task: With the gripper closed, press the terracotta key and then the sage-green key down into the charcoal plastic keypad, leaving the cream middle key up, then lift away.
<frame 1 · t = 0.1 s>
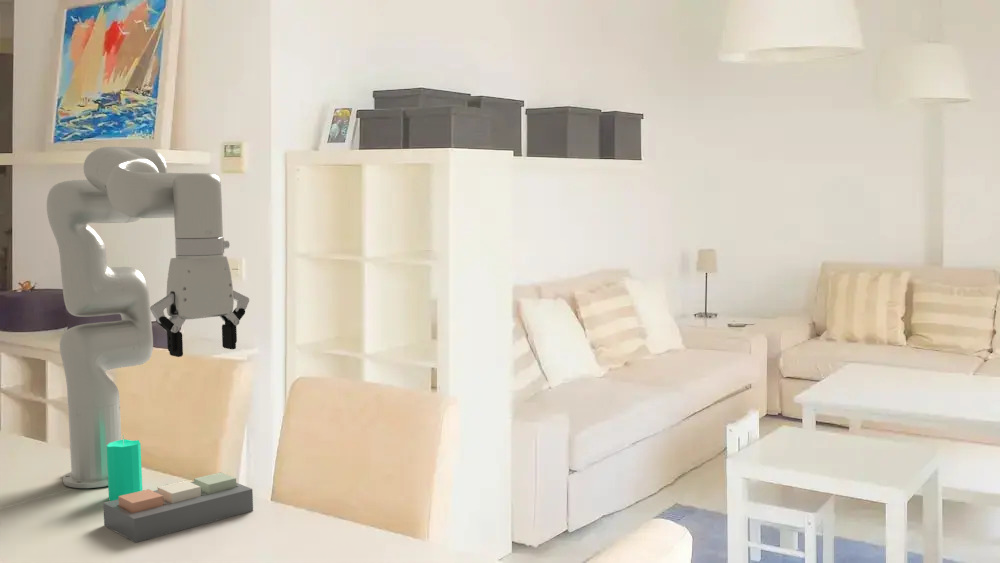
hand: (203, 352, 159), 31 cm above the table, tool pointing down, fingers open, 9 cm apart
keypad: (180, 517, 171), on the table
key terracotta: (141, 505, 165), point 4 cm above the table, slide at 0.0 cm
key cream: (179, 495, 170), point 4 cm above the table, slide at 0.0 cm
key sage: (215, 486, 175), point 4 cm above the table, slide at 0.0 cm
candle: (125, 498, 182), on the table
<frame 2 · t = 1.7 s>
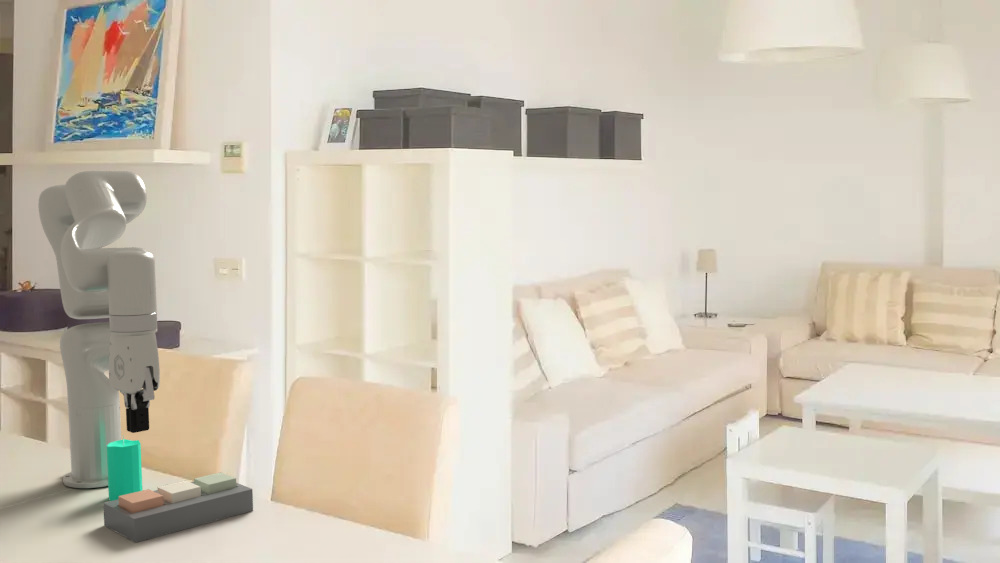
hand: (138, 430, 164), 17 cm above the table, tool pointing down, fingers closed
nothing on the table moved.
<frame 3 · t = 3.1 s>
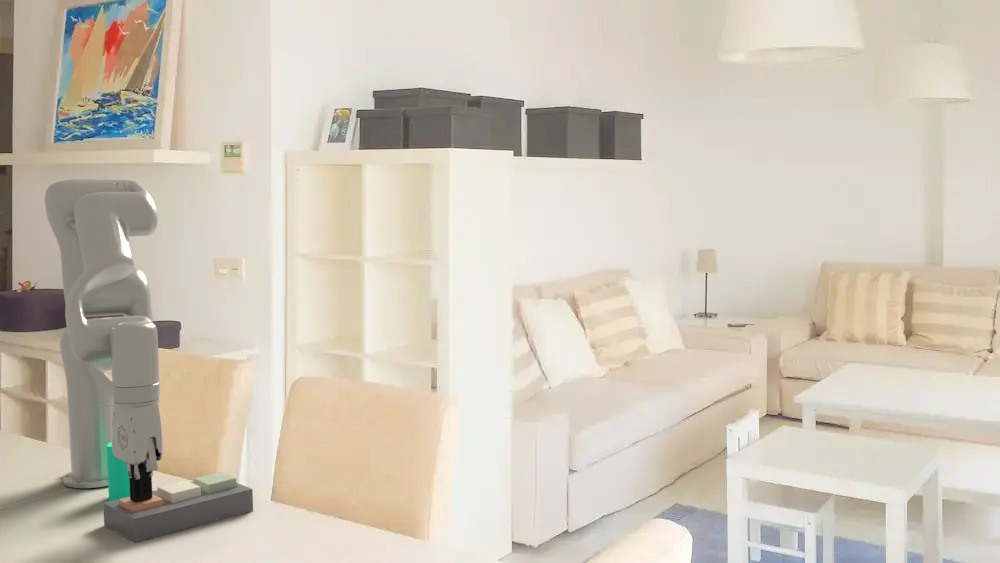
hand: (141, 499, 165), 5 cm above the table, tool pointing down, fingers closed
key terracotta: (141, 508, 165), point 3 cm above the table, slide at 0.6 cm, touching gripper
everything else where it was.
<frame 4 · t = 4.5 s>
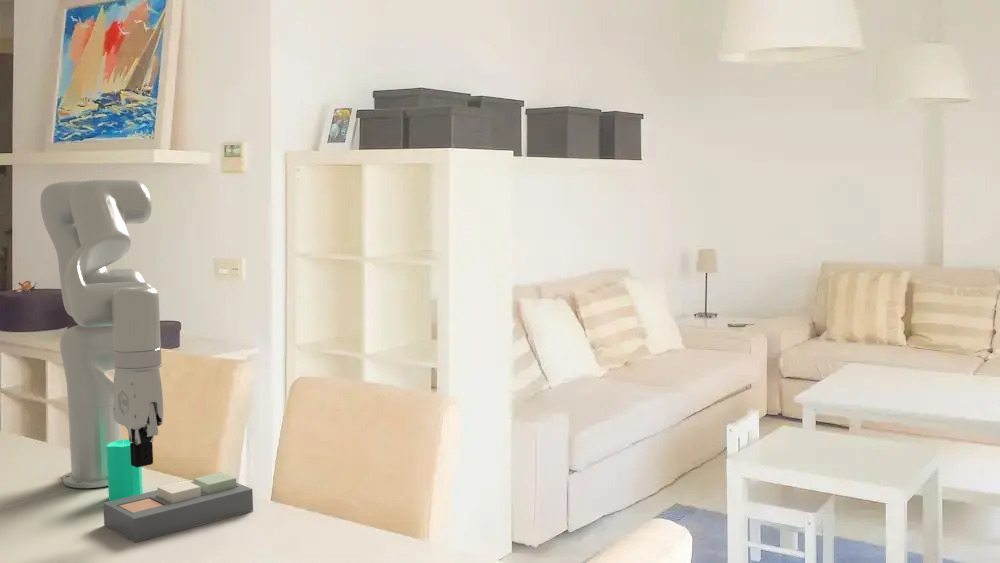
hand: (142, 464, 165), 11 cm above the table, tool pointing down, fingers closed
key terracotta: (141, 514, 165), point 2 cm above the table, slide at 1.7 cm
everything else where it was.
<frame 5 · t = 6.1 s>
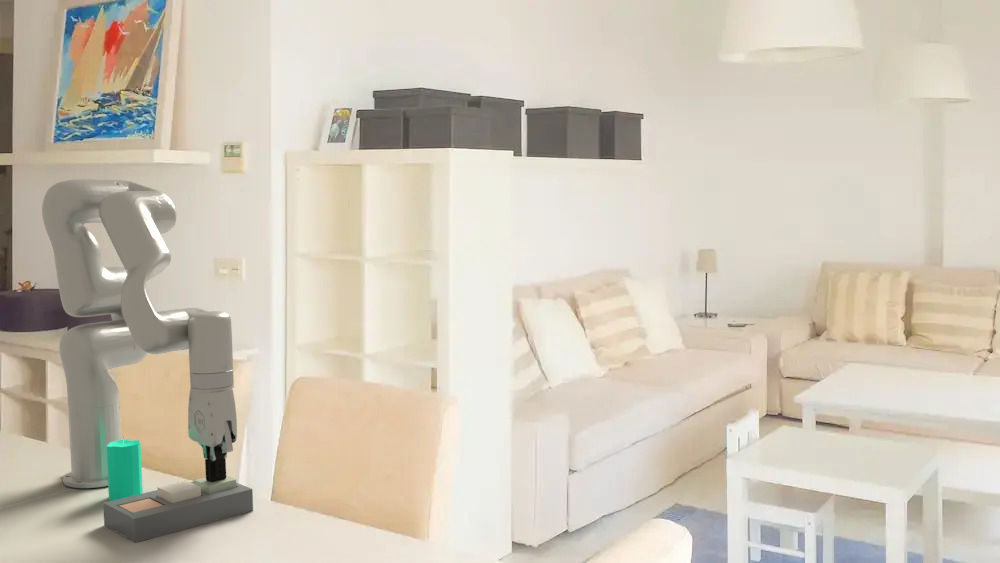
hand: (216, 479, 175), 5 cm above the table, tool pointing down, fingers closed
key sage: (215, 488, 175), point 4 cm above the table, slide at 0.3 cm, touching gripper
everything else where it was.
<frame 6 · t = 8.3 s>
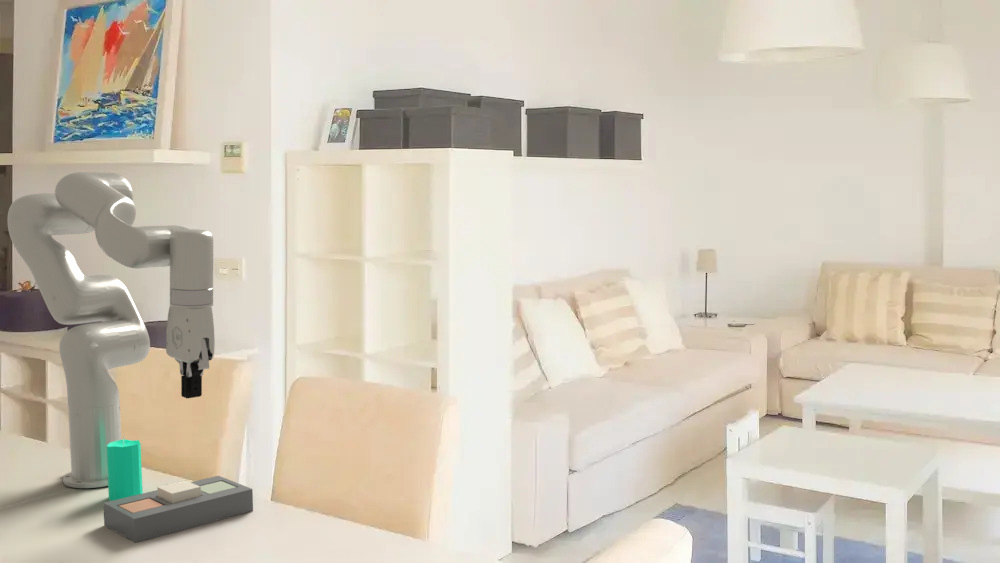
hand: (191, 396, 177), 20 cm above the table, tool pointing down, fingers closed
key sage: (215, 495, 175), point 2 cm above the table, slide at 1.7 cm
everything else where it was.
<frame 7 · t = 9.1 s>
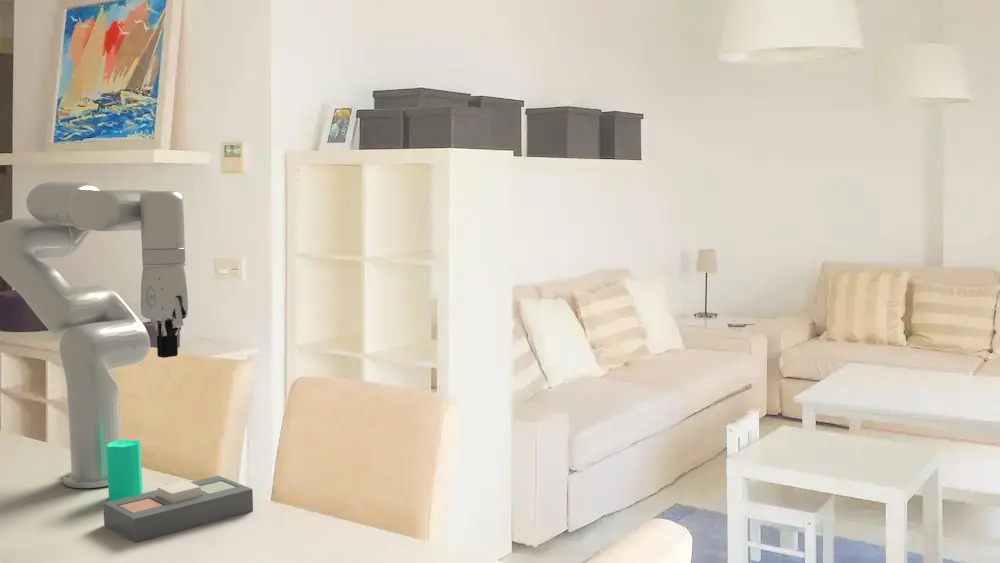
hand: (167, 356, 179), 27 cm above the table, tool pointing down, fingers closed
nothing on the table moved.
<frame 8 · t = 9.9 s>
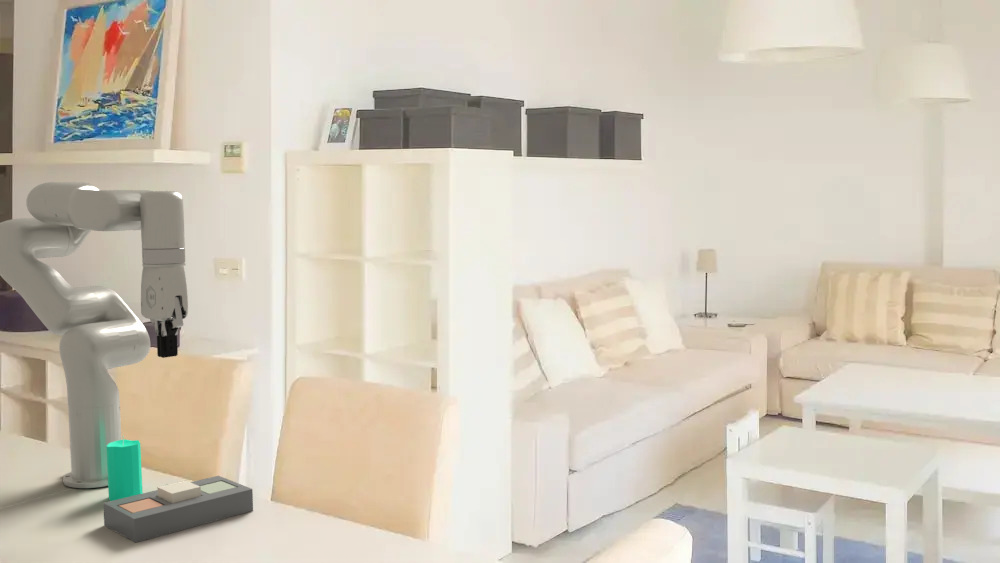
hand: (167, 356, 179), 27 cm above the table, tool pointing down, fingers closed
nothing on the table moved.
at the end: key terracotta slide at 1.7 cm; key sage slide at 1.7 cm; key cream slide at 0.0 cm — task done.
